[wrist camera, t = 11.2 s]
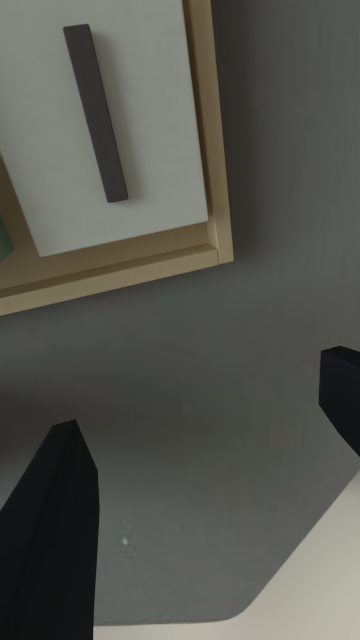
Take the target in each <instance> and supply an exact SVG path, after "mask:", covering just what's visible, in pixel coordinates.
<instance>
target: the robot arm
mask: <svg viewBox="0 0 360 640" xmlns="http://www.w3.org/2000/svg"><path fill="white" fill-rule="evenodd" d="M319 405H320V407H321V408H322V410H323V411H324V413H325V414H326V416H327V417H328V419H329V420H330V422H331V423H332V424H333V426H334V427H335V429H336V430H337V431H338V433H339V434H340V435H341V436H342V437H343V439H344V440H345V441H346V442H347V443H348V444H349V445H350V447H351V448H352V449H353V450H354V451H355V452H356V453H357V454H358V456H359V457H360V352H358V351H355V350H352V349H349V348H346V347H342V346H337V347H333V348H330V349H326V350H323V351H321V360H320V383H319ZM99 510H100V507H99V487H98V471H97V468H96V466H95V463H94V461H93V459H92V456H91V454H90V452H89V449H88V447H87V445H86V442H85V440H84V438H83V435H82V433H81V431H80V428H79V426H78V424H77V421H76V419H75V420H71V421H68V422H64V423H60V424H57V425H53V426H52V427H51V429H50V431H49V432H48V434H47V435H46V437H45V439H44V440H43V442H42V444H41V445H40V447H39V449H38V450H37V452H36V454H35V456H34V457H33V459H32V461H31V462H30V464H29V466H28V467H27V469H26V471H25V472H24V474H23V476H22V477H21V479H20V480H19V482H18V484H17V485H16V487H15V488H14V490H13V492H12V493H11V495H10V496H9V498H8V500H7V501H6V503H5V504H4V506H3V507H2V509H1V511H0V640H93V621H94V599H95V582H96V565H97V548H98V530H99Z"/></svg>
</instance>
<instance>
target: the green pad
mask: <svg viewBox="0 0 360 640" xmlns="http://www.w3.org/2000/svg"><path fill="white" fill-rule="evenodd" d="M13 251H14V248H13V246H12V243H11V241H10V238H9V236H8V234H7V231H6V229H5V226H4V224H3V221H2V219H1V217H0V262H1V261H2V260H3V259H4V258H6V257H7V256H8V255H9V254H10V253H11V252H13Z"/></svg>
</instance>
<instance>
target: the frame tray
mask: <svg viewBox="0 0 360 640" xmlns="http://www.w3.org/2000/svg"><path fill="white" fill-rule="evenodd" d="M182 3H183V12H184V20H185V28H186V36H187V45H188V53H189V61H190V69H191V77H192V86H193V94H194V102H195V110H196V119H197V127H198V135H199V143H200V151H201V160H202V168H203V176H204V184H205V193H206V201H207V209H208V217H209V220H208V221H207V222H203V223H198V224H193V225H189V226H184V227H179V228H175V229H170V230H165V231H161V232H156V233H151V234H147V235H142V236H138V237H133V238H128V239H124V240H119V241H114V242H110V243H105V244H100V245H96V246H91V247H86V248H82V249H77V250H72V251H68V252H63V253H58V254H54V255H49V256H45V257H40V256H39V254H38V251H37V249H36V246H35V243H34V241H33V238H32V235H31V233H30V230H29V228H28V225H27V222H26V220H25V217H24V214H23V212H22V209H21V206H20V204H19V201H18V199H17V196H16V193H15V191H14V188H13V185H12V183H11V180H10V177H9V175H8V172H7V169H6V167H5V164H4V162H3V159H2V156H1V154H0V217H1V219H2V221H3V224H4V226H5V229H6V231H7V234H8V236H9V238H10V241H11V243H12V246H13V248H14V251H13V252H11V253H10V254H9V255H8V256H7V257H6V258H4V259H3V260H2V261H1V262H0V316H2V315H6V314H11V313H15V312H19V311H24V310H28V309H32V308H36V307H41V306H45V305H49V304H54V303H58V302H62V301H66V300H71V299H75V298H79V297H84V296H88V295H92V294H96V293H101V292H105V291H109V290H114V289H118V288H122V287H126V286H131V285H135V284H139V283H144V282H148V281H152V280H157V279H161V278H165V277H169V276H174V275H178V274H182V273H187V272H191V271H195V270H199V269H204V268H208V267H212V266H217V265H219V264H224V263H228V262H232V261H234V253H233V242H232V231H231V220H230V209H229V198H228V187H227V176H226V165H225V154H224V143H223V132H222V121H221V110H220V99H219V88H218V77H217V66H216V55H215V44H214V33H213V22H212V11H211V0H182Z"/></svg>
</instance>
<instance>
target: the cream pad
mask: <svg viewBox="0 0 360 640" xmlns="http://www.w3.org/2000/svg"><path fill="white" fill-rule="evenodd" d="M0 154H1V156H2V159H3V162H4V164H5V167H6V169H7V172H8V175H9V177H10V180H11V183H12V185H13V188H14V191H15V193H16V196H17V199H18V201H19V204H20V206H21V209H22V212H23V214H24V217H25V220H26V222H27V225H28V228H29V230H30V233H31V235H32V238H33V241H34V243H35V246H36V249H37V251H38V254H39V256H40V257H45V256H49V255H54V254H58V253H63V252H68V251H72V250H77V249H82V248H86V247H91V246H96V245H100V244H105V243H110V242H114V241H119V240H124V239H128V238H133V237H138V236H142V235H147V234H151V233H156V232H161V231H165V230H170V229H175V228H179V227H184V226H189V225H193V224H198V223H203V222H207V221H208V220H209V217H208V209H207V201H206V193H205V184H204V176H203V168H202V160H201V151H200V143H199V135H198V127H197V119H196V110H195V102H194V94H193V86H192V77H191V69H190V61H189V53H188V45H187V36H186V28H185V20H184V12H183V3H182V0H0Z"/></svg>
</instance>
